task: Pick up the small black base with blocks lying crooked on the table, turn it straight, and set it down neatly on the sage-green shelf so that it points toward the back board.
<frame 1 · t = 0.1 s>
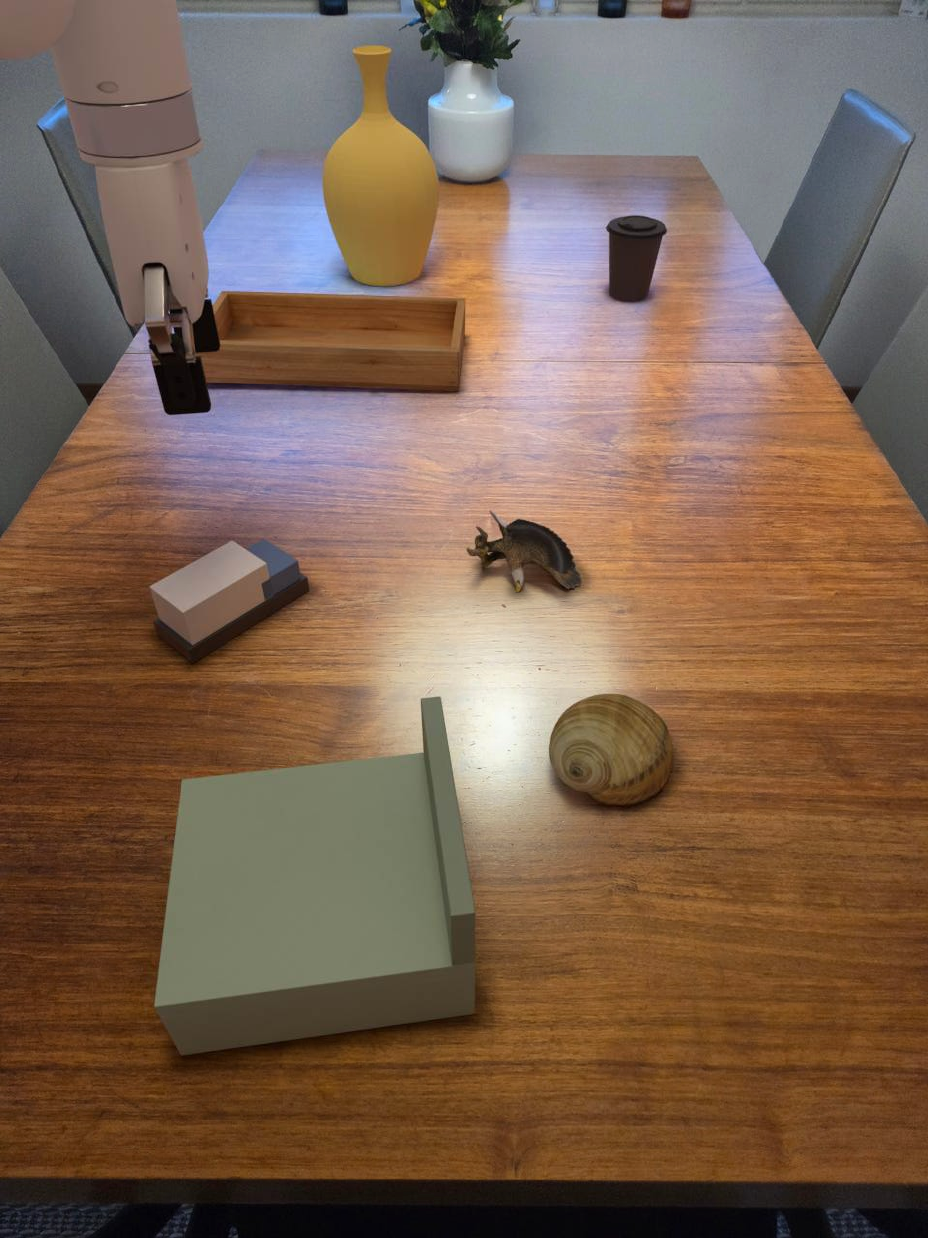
hand: (195, 379, 66), 18 cm above the table, tool pointing down, fingers open, 9 cm apart
vase: (386, 274, 129), on the table
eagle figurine: (525, 579, 77), on the table
seashell: (609, 765, 62), on the table
tray: (337, 363, 108), on the table
coffee cup: (628, 295, 123), on the table
black base with blocks: (235, 612, 73), on the table
shelf: (327, 917, 53), on the table
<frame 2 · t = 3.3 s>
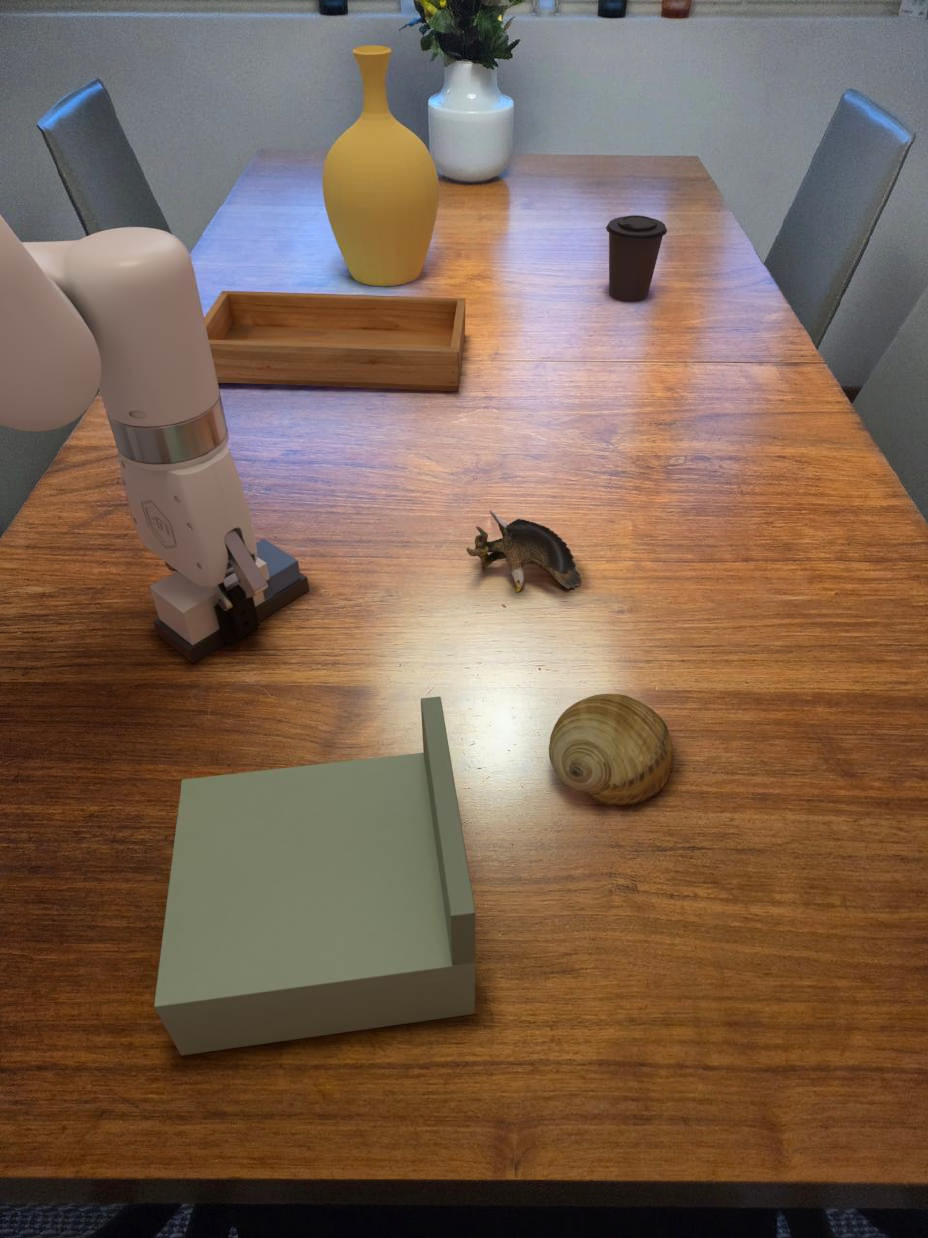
hand: (219, 617, 72), 0 cm above the table, tool pointing down, fingers closed on black base with blocks, 5 cm apart
black base with blocks: (235, 612, 73), on the table, touching gripper
everything else where it was.
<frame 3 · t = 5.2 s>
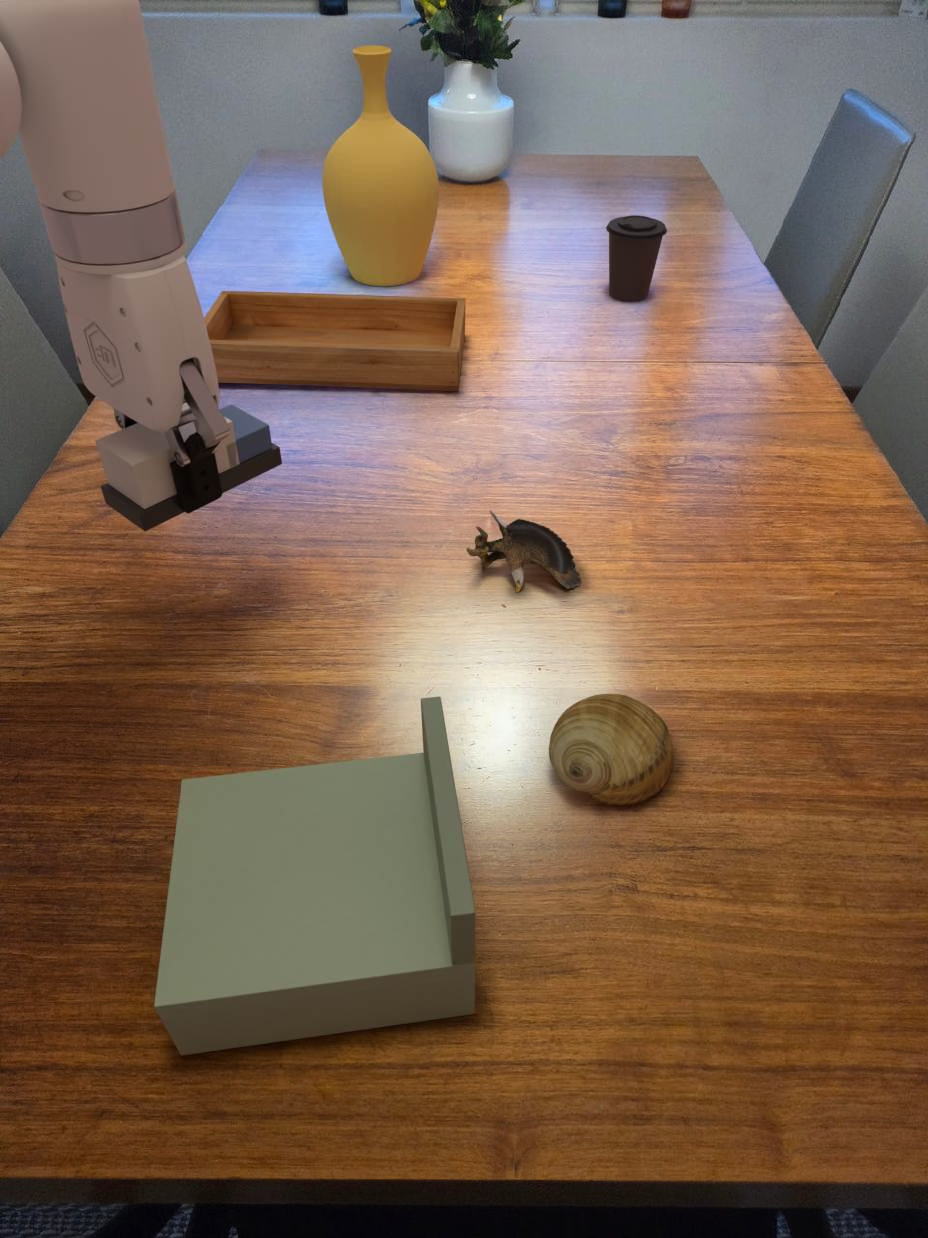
hand: (178, 486, 63), 13 cm above the table, tool pointing down, fingers closed on black base with blocks, 5 cm apart
black base with blocks: (196, 483, 65), point 13 cm above the table, touching gripper
everything else where it was.
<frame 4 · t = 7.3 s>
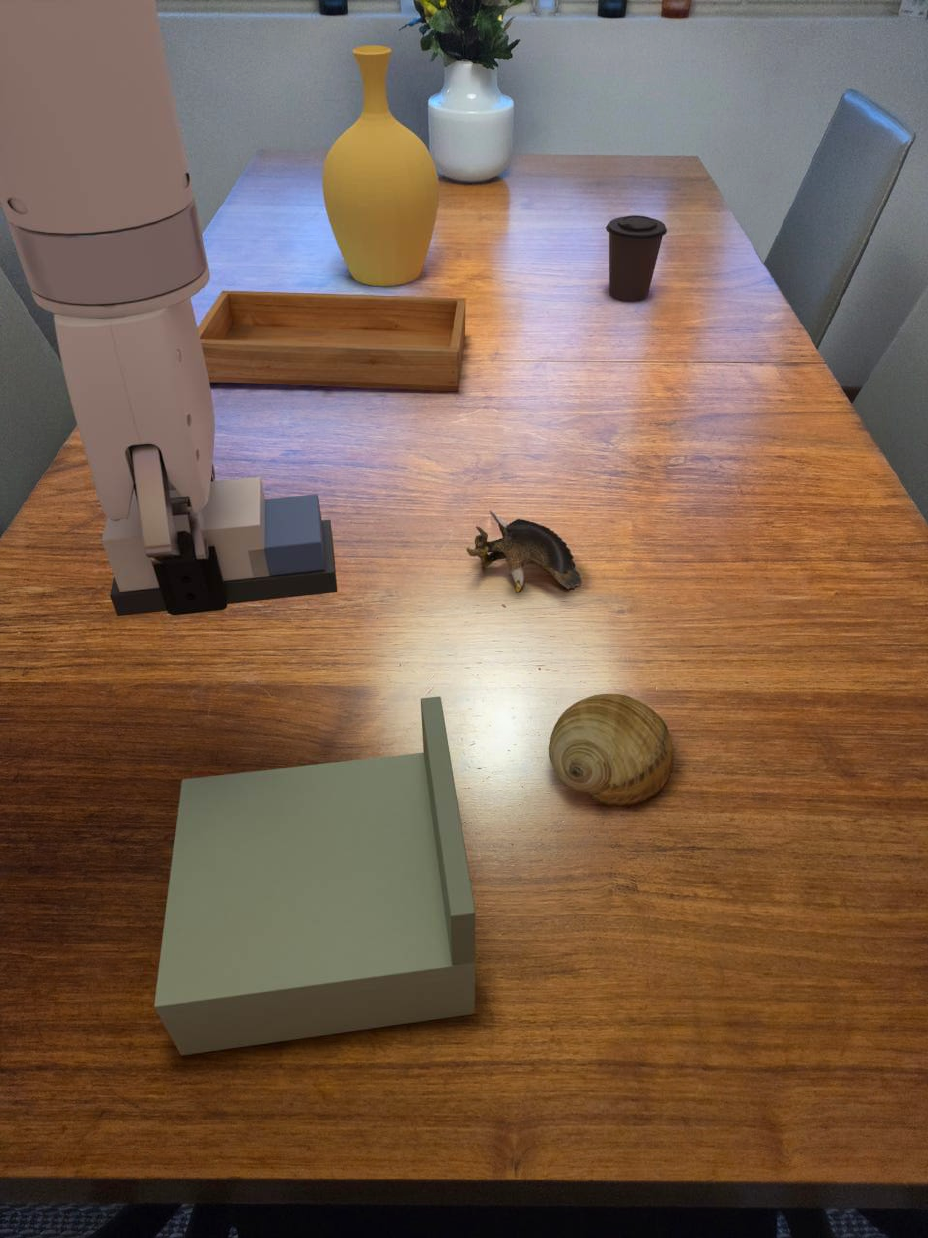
hand: (201, 573, 50), 17 cm above the table, tool pointing down, fingers closed on black base with blocks, 5 cm apart
black base with blocks: (230, 576, 50), point 17 cm above the table, touching gripper
everything else where it was.
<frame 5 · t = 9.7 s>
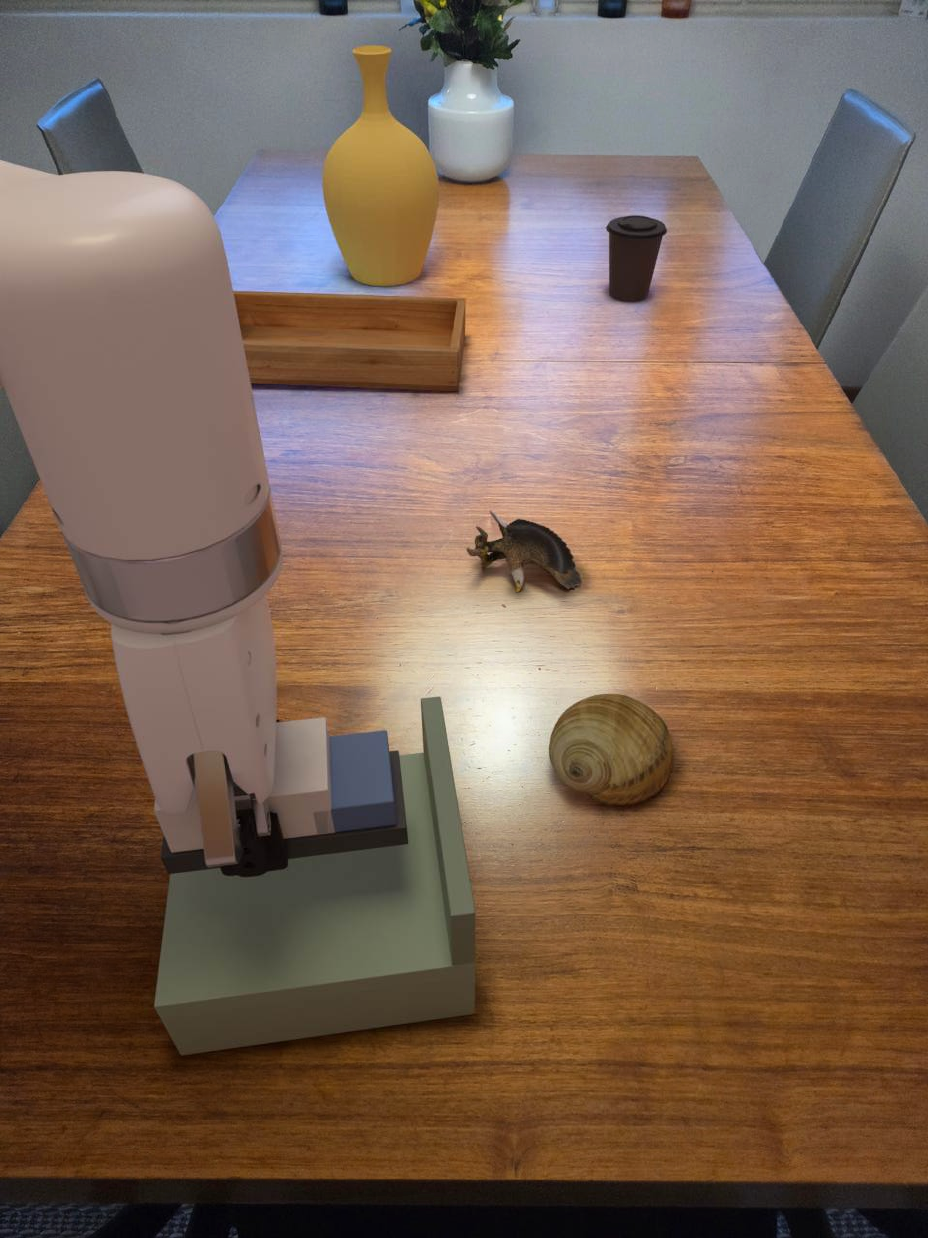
hand: (258, 817, 45), 11 cm above the table, tool pointing down, fingers closed on black base with blocks, 5 cm apart
black base with blocks: (290, 818, 46), point 10 cm above the table, touching gripper
everything else where it was.
when the fingers open (6 cm above the table, at t = 11.3 s): black base with blocks stays where it is, resting on shelf.
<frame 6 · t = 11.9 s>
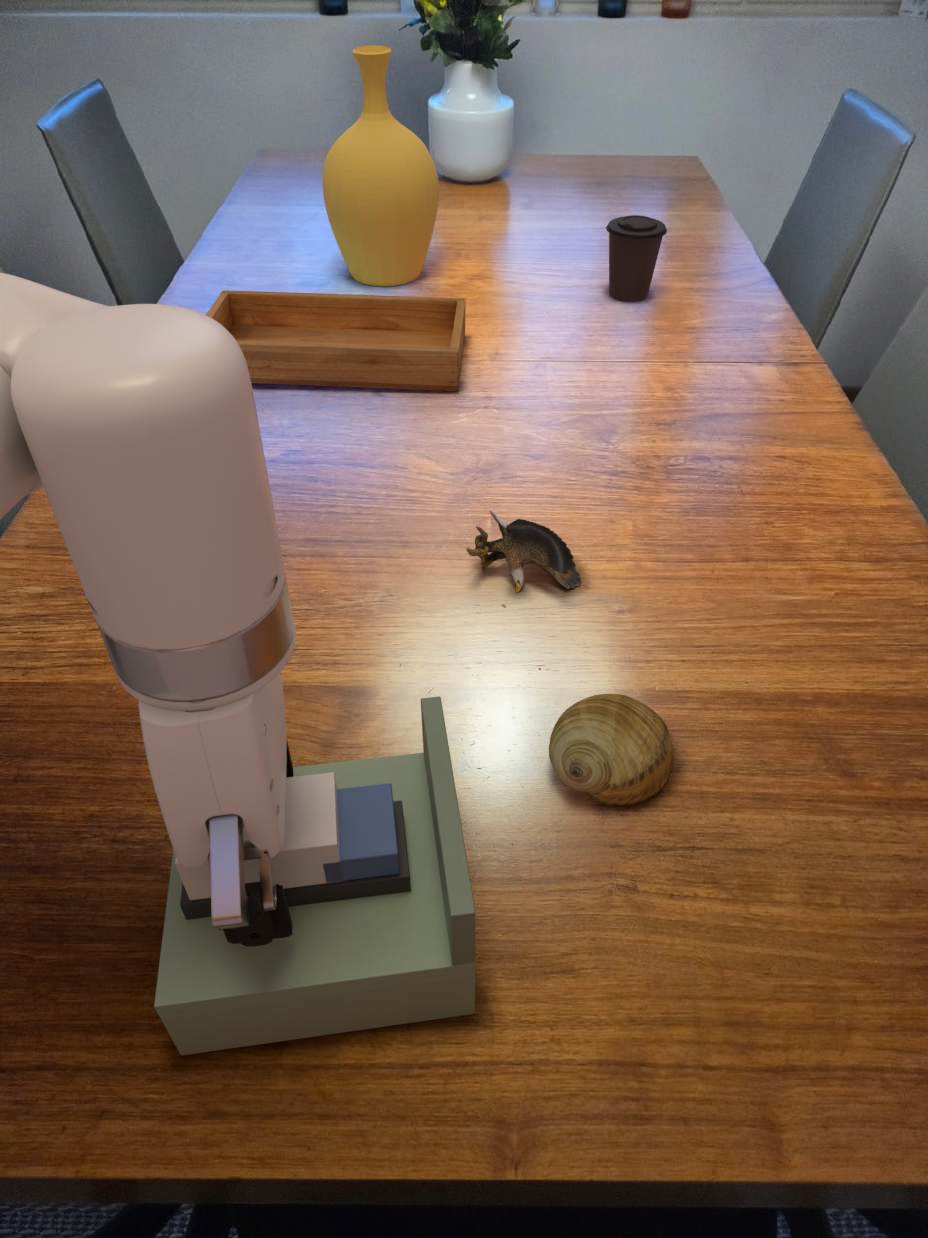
hand: (264, 852, 48), 8 cm above the table, tool pointing down, fingers open, 9 cm apart
black base with blocks: (299, 865, 49), point 6 cm above the table, touching shelf
everything else where it was.
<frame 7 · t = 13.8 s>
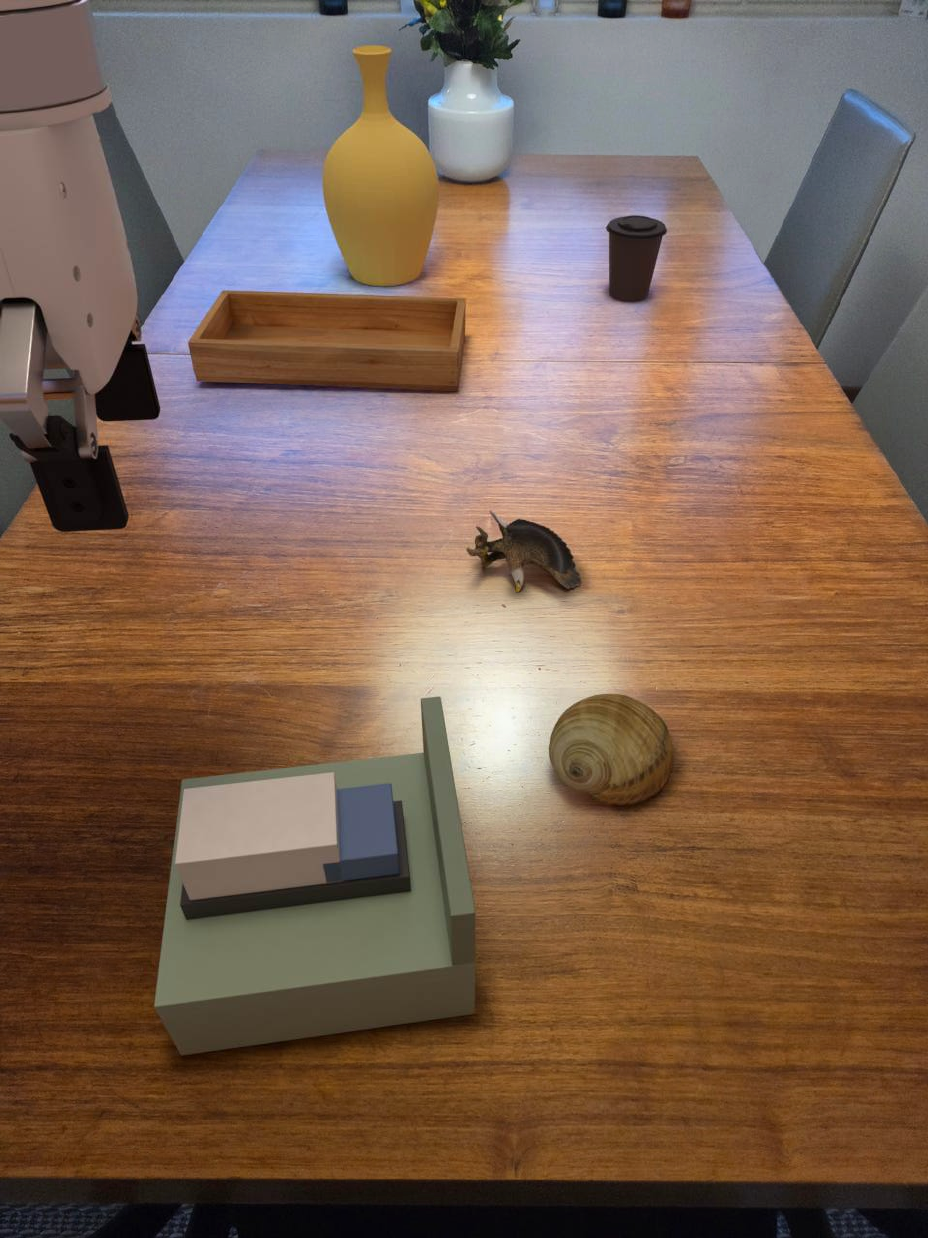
hand: (113, 467, 43), 26 cm above the table, tool pointing down, fingers open, 9 cm apart
nothing on the table moved.
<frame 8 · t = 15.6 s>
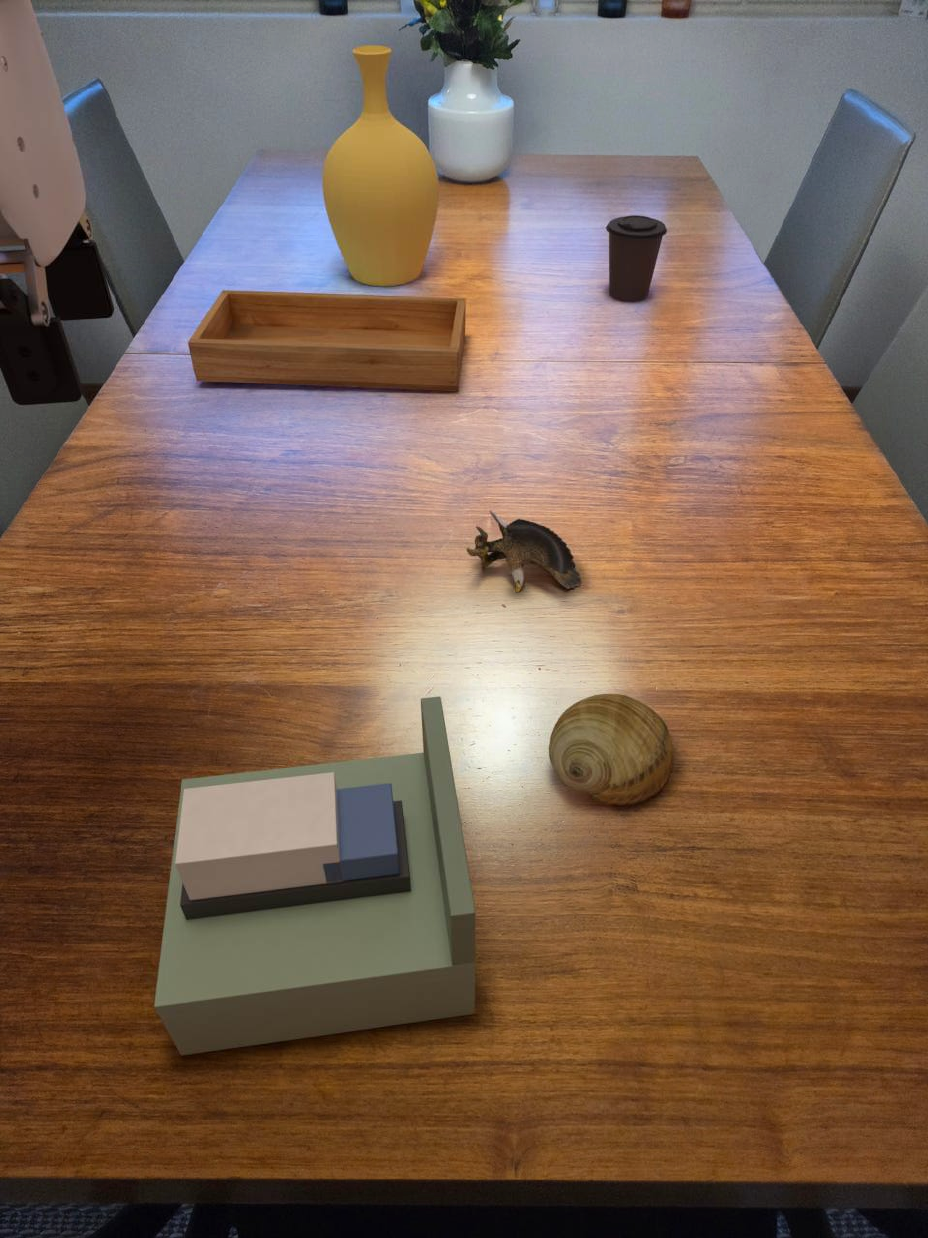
hand: (69, 355, 46), 28 cm above the table, tool pointing down, fingers open, 9 cm apart
nothing on the table moved.
at the end: black base with blocks 0.2 cm off-centre on the shelf, point 6.0 cm above the shelf's base; black base with blocks tilted 0°; the gripper is holding nothing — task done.
